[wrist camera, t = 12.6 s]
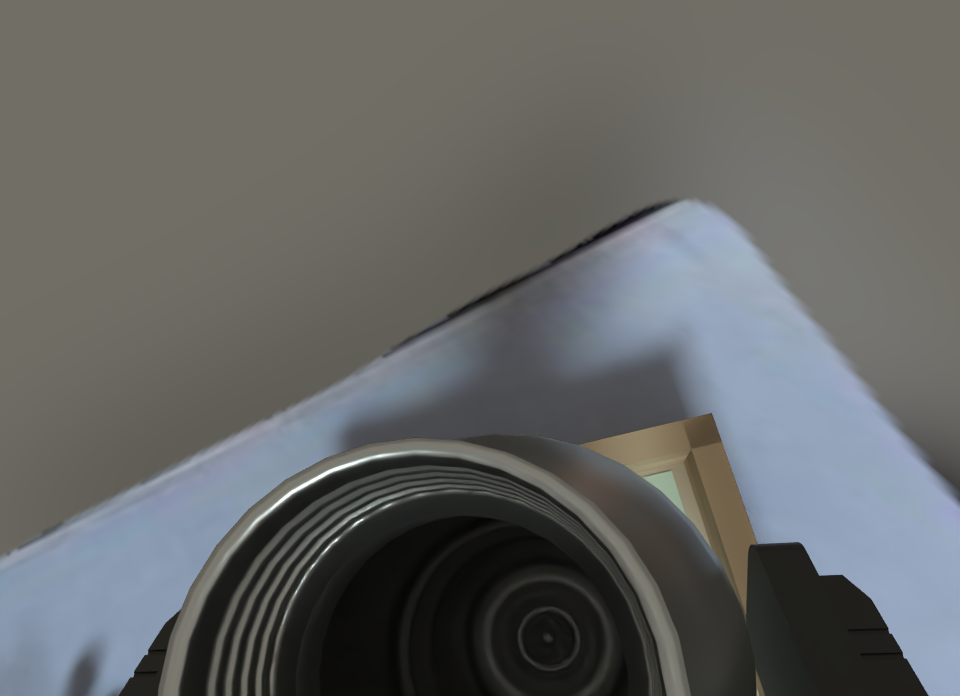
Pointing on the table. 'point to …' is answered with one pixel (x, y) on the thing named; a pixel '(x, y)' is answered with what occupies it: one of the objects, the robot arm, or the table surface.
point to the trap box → (693, 486)
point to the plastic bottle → (462, 583)
